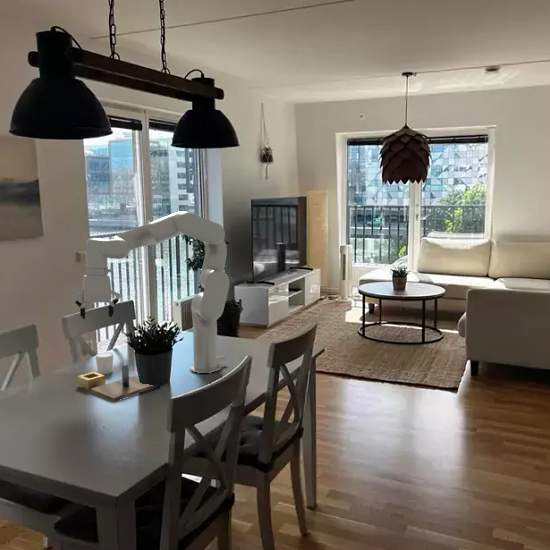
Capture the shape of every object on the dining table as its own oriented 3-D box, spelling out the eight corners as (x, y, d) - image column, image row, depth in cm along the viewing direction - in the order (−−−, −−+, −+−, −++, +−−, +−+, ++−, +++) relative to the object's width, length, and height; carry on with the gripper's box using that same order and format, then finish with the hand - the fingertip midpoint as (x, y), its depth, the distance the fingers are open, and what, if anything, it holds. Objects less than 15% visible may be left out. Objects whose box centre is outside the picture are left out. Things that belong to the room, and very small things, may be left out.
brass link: (94, 381, 216) (94, 371, 216) (105, 385, 212) (104, 375, 211) (78, 386, 211) (77, 376, 210) (88, 390, 207) (88, 380, 206)
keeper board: (137, 378, 220) (136, 374, 220) (159, 386, 211) (159, 382, 211) (91, 392, 205) (91, 388, 204) (113, 402, 196) (113, 398, 196)
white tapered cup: (116, 369, 231) (115, 352, 230) (110, 374, 225) (109, 357, 224) (100, 368, 232) (99, 352, 231) (93, 374, 225) (92, 357, 224)
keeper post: (126, 384, 209) (125, 362, 208) (130, 385, 208) (129, 364, 206) (121, 385, 207) (120, 364, 206) (125, 387, 206) (124, 365, 205)
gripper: (118, 270, 216) (118, 314, 218) (70, 271, 208) (71, 316, 210) (122, 272, 209) (122, 318, 212) (73, 273, 201) (74, 321, 204)
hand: (97, 317), depth 211 cm, fingers open, 9 cm apart
